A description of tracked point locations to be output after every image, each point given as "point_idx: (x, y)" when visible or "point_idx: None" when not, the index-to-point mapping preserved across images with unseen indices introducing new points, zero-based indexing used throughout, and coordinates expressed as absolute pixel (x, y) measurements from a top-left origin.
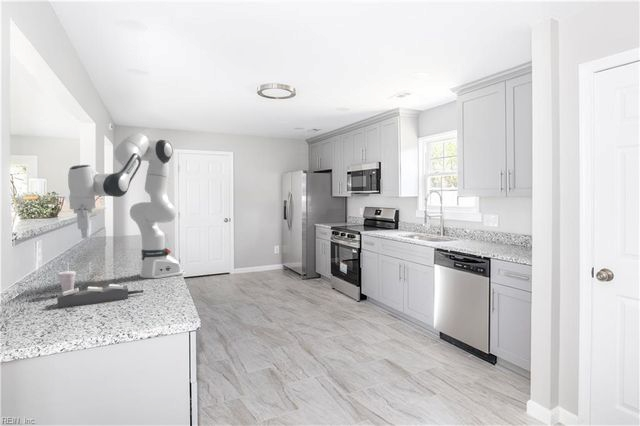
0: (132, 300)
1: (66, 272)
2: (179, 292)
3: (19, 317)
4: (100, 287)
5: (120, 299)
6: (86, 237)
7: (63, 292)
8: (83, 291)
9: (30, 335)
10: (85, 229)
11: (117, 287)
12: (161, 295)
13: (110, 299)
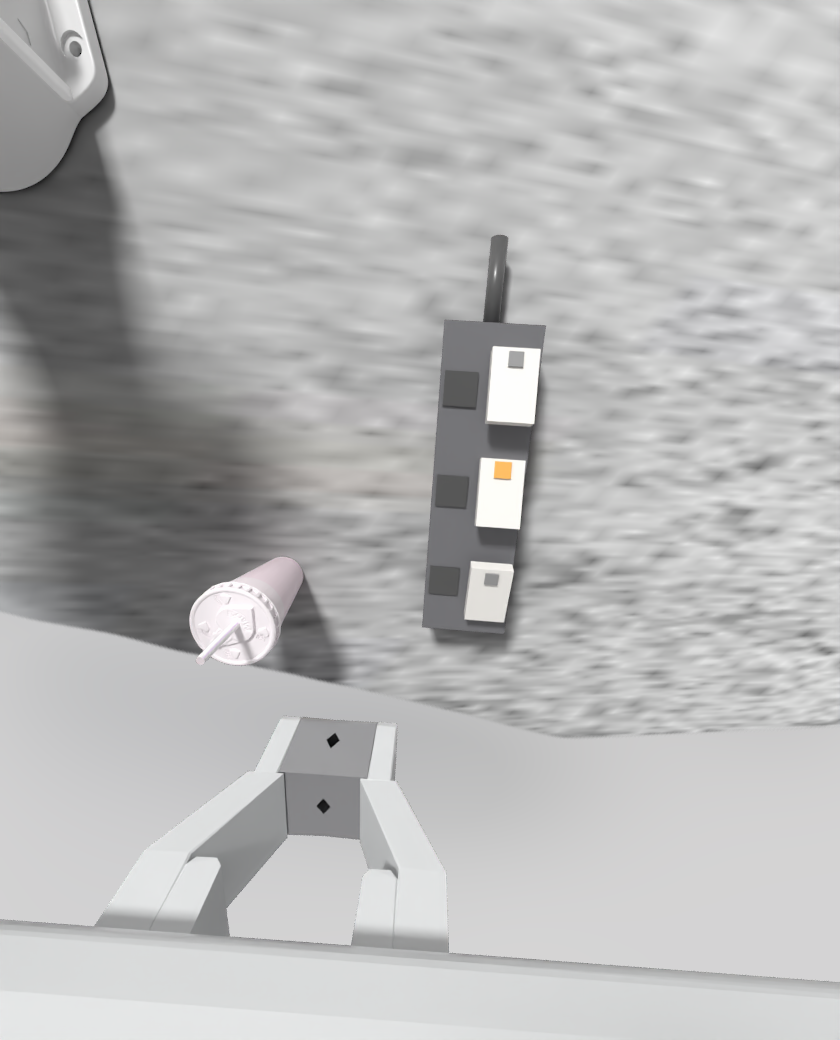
0: (585, 321)
1: (240, 632)
2: (594, 5)
3: (544, 709)
4: (495, 467)
5: None
6: (394, 731)
7: (479, 619)
8: (452, 537)
9: (791, 678)
10: (443, 915)
11: (535, 381)
12: (588, 145)
13: None
